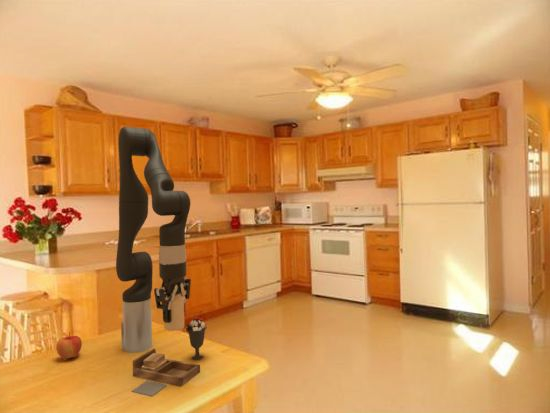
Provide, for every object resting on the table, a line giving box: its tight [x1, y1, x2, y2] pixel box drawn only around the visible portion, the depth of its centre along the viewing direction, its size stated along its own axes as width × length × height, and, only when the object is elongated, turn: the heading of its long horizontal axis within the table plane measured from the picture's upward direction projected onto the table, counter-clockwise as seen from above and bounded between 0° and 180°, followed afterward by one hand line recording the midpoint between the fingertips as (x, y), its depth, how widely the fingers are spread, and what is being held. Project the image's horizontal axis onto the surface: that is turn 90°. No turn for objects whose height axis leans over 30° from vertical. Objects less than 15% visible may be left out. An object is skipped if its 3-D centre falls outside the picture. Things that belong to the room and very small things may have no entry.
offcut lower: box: [141, 360, 167, 372], centre depth 113 cm, size 4×6×2 cm
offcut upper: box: [144, 352, 166, 368], centre depth 113 cm, size 4×5×2 cm
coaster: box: [130, 380, 168, 397], centre depth 103 cm, size 7×6×1 cm
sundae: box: [185, 310, 208, 361], centre depth 122 cm, size 7×7×15 cm
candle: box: [164, 294, 185, 332], centre depth 109 cm, size 6×6×10 cm
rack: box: [132, 348, 201, 387], centre depth 111 cm, size 17×9×5 cm, turn 67°
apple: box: [55, 332, 83, 361], centre depth 125 cm, size 7×7×8 cm
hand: (174, 318), depth 109 cm, fingers closed on candle, 5 cm apart
